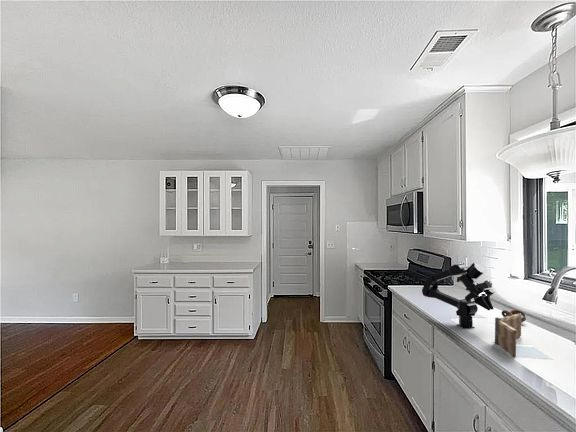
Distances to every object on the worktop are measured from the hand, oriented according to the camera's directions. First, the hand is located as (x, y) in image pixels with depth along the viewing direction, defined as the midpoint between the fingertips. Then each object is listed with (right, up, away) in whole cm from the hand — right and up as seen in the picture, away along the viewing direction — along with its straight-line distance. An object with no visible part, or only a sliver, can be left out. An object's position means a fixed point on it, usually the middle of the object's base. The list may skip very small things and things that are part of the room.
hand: (491, 309), depth 175 cm
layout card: (0, -12, -22) cm, 25 cm away
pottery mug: (+26, -14, +22) cm, 37 cm away
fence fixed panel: (-6, -12, -22) cm, 26 cm away
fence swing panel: (+4, -12, -9) cm, 15 cm away
